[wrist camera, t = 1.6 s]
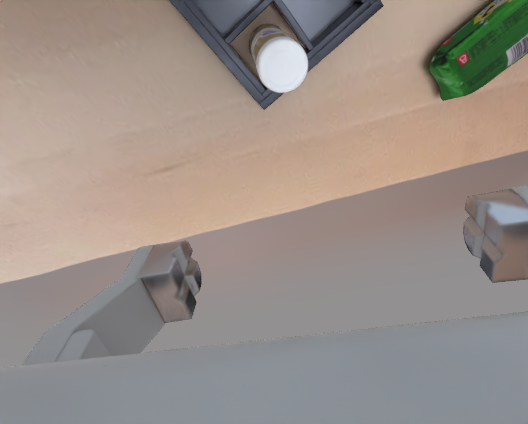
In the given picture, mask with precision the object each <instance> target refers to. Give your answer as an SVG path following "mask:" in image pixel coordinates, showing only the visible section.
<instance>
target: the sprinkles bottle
mask: <svg viewBox="0 0 528 424" xmlns="http://www.w3.org/2000/svg"><path fill="white" fill-rule="evenodd" d="M249 49H250V53H251V55H252V57H253V59H254V62H255V64H256V68H257V73H258V75H259V78H260V79H261V81H262V83H263V84H264V85H265V86H266V87H267V88H268V89H270V90H272V91H274V92H278V93H285V92H290V91H292V90H294V89H296V88H297V87H298V86H299V85H300V84H301V83H302V82H303V80H304V79H305V77H306V74H307V71H308V58H307V55H306V53H305V51H304V49H303V48H302V47H301V45H300V44H299V43H298V42H296V41H295V40H294V39H292V38H289V37H288V36H287V35H286V34H285V33H284V32H283V31H281V29H280V28H279V27H277V26H275V25H273V24H263V25H260V26H259V27H257V28H256V29H255V30H254V31H253V33H252V34H251V37H250V40H249Z"/></svg>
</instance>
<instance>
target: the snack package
mask: <svg viewBox="0 0 528 424" xmlns="http://www.w3.org/2000/svg"><path fill="white" fill-rule="evenodd" d="M527 53H528V0H494V1H493V2H492V3H491V4H489V5H488V6H487V7H486V8H485V9H483V10H482V11H481V12H480V13H478V14H477V15H476V16H475V17H474V18H472V19H471V20H470V21H469V22H468V23H467V24H465V25H464V26H463V27H462V28H461V29H459V30H458V31H457V32H456V33H455V34H453V35H452V36H451V37H450V38H449V39H447V40H446V41H445V42H444V43H443V44H442V45H441V46H440V47H439V49H438V50H437V51H436V52H435V55H434V57H433V59H432V61H431V63H430V66H429V72H430V73H431V74H432V75H433V76H434V78H435V79H436V81H437V83H438V84H439V88H440V97H441V99H442V100H443V101H444V100H448V99H453V98H457V97H462V96H466V95H469V94H471V93H473V92H475V91H476V90H478V89H479V88H481V87H483V86H484V85H486V84H487V83H488V82H490V81H491V80H492V79H493V78H495V77H496V76H497V75H499V74H500V73H501V72H503V71H504V70H505V69H507V68H508V67H509V66H511V65H512V64H514V63H515V62H517V61H518V60H519V59H521V58H522V57H523V56H524V55H526V54H527Z"/></svg>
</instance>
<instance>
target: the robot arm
mask: <svg viewBox="0 0 528 424" xmlns="http://www.w3.org/2000/svg"><path fill="white" fill-rule="evenodd" d="M465 210H466V211H467V213H468V214H469V215H470V216H469V217H468V218H467V220H466V221H465V222H464V228H463V234H464V239H465V243H466V245H467V248H468V249H469V251H470V252H471V254H472V255H473V256H476V257H478V258H480V259H481V261H480V266H481V268H482V269H483V271H484V272H485V273H486V275H487V276H488V277H489V279H490V280H491V282H493V283H495V282H505V281H516V280H526V279H528V185H526V186H521V187H516V188H510V189H507V190H501V191H496V192H490V193H484V194H478V195H472V196H468V197H467V200H466V204H465ZM191 254H192V248H191V247H190V244H189V243H188V242H187V241H178V242H170V243H163V244H156V245H149V246H143V247H140V248H138V250H137V251H136V253H135V255H134V257H133V258H132V260H131V262H130V263H129V265H128V267H127V269H126V270H125V272H124V274H123V276H122V277H121V279H120V281H117V282H114V283H112V284H111V285H110V286H108V287H107V288H105V289H104V290H103V291H101V292H100V293H99V294H97V295H96V296H95V297H93V298H92V299H91V300H89V301H88V302H86V303H85V304H84V305H82V306H81V307H80V308H78V309H77V310H76V311H74V312H73V313H71V314H70V315H69V316H67V317H66V318H64V319H63V320H62V321H60V322H59V323H58V324H56V325H55V326H54V327H52V328H51V329H49V330H48V331H47V332H45V333H44V334H43V336H42V337H41V338H40V340H39V341H38V343H37V344H36V346H35V347H34V348H33V350H32V351H31V352H30V354H29V355H28V357H27V358H26V360H25V361H24V363H23V364H22V365H21V366H14V367H5V368H0V424H528V312H519V313H510V314H501V315H491V316H481V317H472V318H463V319H453V320H444V321H434V322H425V323H415V324H406V325H397V326H387V327H379V328H369V329H360V330H351V331H341V332H332V333H323V334H315V335H305V336H295V337H286V338H276V339H267V340H258V341H249V342H240V343H230V344H221V345H211V346H201V347H192V348H183V349H173V350H165V351H155V352H147V353H141V352H142V350H143V349H144V348H145V347H146V346H147V345H148V344H149V342H150V341H151V340H152V339H153V338H154V337H155V335H156V334H157V333H158V332H159V331H160V330H161V329H162V327H163V326H164V325H165V323H168V322H175V321H182V320H188V319H192V315H193V312H194V309H195V305H196V300H195V298H194V296H195V295H196V294H197V293H198V292H199V291H200V287H201V272H200V268H199V265H198V263H197V262H196V261H195V260H193V259H192V258H191Z"/></svg>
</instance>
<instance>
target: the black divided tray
mask: <svg viewBox="0 0 528 424" xmlns="http://www.w3.org/2000/svg"><path fill="white" fill-rule="evenodd" d="M170 2H171V3H172V4H173V5H174V6H175V7H176V9H177V10H178V11H179V12H180V13H181V14H182V15H183V17H184V18H185V19H186V20H187V21H188V22H189V24H190V25H191V26H192V27H193V28H194V29H195V31H196V32H197V33H198V34H199V35H200V36H201V38H202V39H203V40H204V41H205V42H206V43H207V44H208V46H209V47H210V48H211V49H212V50H213V51H214V53H215V54H216V55H217V56H218V57H219V58H220V60H221V61H222V62H223V63H224V64H225V65H226V66H227V68H228V69H229V70H230V71H231V72H232V73H233V75H234V76H235V77H236V78H237V79H238V80H239V82H240V83H241V84H242V85H243V86H244V87H245V89H246V90H247V91H248V92H249V93H250V94H251V95H252V97H253V98H254V99H255V100H256V101H257V102H258V104H259V105H260V106H261V107H262V108H263V109H264V110H265V109H266V108H267V107H268V106H269V105H271V104H272V103H273V102H274V101H275V100H276V99H277V98H279V97H280V96H281V95H282V94H283V93H278V92H274V91H272V90H270V89H268V88H267V87H266V86H265V85H263V84H262V83H261V81H260V80H259V79H258V78H257V76H256V75H255V74H254V73H253V72H252V70H251V69H250V68H249V67H248V66H247V64H246V63H245V62H244V61H243V60H242V58H241V57H240V56H239V55H238V53H237V52H236V51H235V50H234V49H233V47H232V46H231V45H230V43H231V42H232V41H233V40H234V39H235V38H236V37H237V36H238V35H239V34H240V33H241V32H242V31H243V30H244V29H245V28H246V27H247V26H248V25H249V24H250V23H251V22H252V21H253V20H254V19H255V18H256V17H257V16H258V15H259V14H260V13H261V12H262V11H263V10H264V9H265V8H266V7H267V6H268V5H269V4H270V3H271V2H273V3H274V5H275V6H276V8H277V9H278V10H279V12H280V13H281V15H282V16H283V17H284V19H285V20H286V22H287V23H288V24H289V26H290V27H291V29H292V30H293V32H294V33H295V34H296V36H297V37H298V39H299V40H300V41H301V43H302V44H303V46H304V47H305V49H304V51H305V53H306V55H307V58H308V71H310V70H311V69H312V68H313V67H314V66H315V65H316V64H318V63H319V62H320V61H321V60H322V59H323V58H324V57H326V56H327V55H328V54H329V53H330V52H331V51H333V50H334V49H335V48H336V47H337V46H338V45H339V44H341V43H342V42H343V41H344V40H345V39H346V38H347V37H349V36H350V35H351V34H352V33H353V32H354V31H355V30H357V29H358V28H359V27H360V26H361V25H362V24H363V23H365V22H366V21H367V20H368V19H369V18H370V17H371V16H373V15H374V14H375V13H376V12H377V11H378V10H380V9H381V8H382V7H383V4H382V2H381V0H170ZM308 71H307V72H308Z"/></svg>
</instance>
